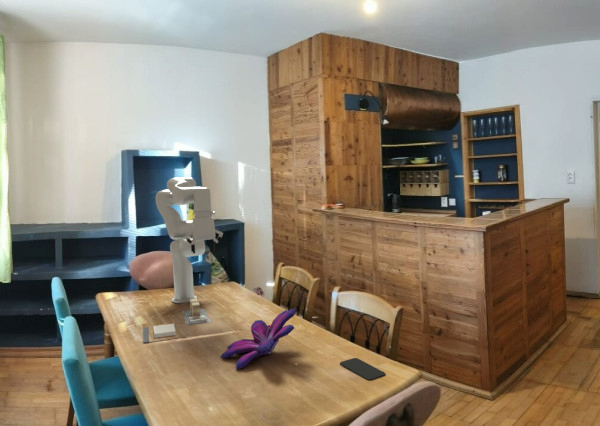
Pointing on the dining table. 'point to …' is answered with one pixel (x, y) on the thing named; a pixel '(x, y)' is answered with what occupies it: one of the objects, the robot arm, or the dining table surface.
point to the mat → (146, 336)
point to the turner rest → (188, 314)
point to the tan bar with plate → (196, 312)
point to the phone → (362, 369)
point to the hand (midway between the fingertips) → (204, 252)
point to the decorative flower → (261, 339)
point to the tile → (164, 330)
